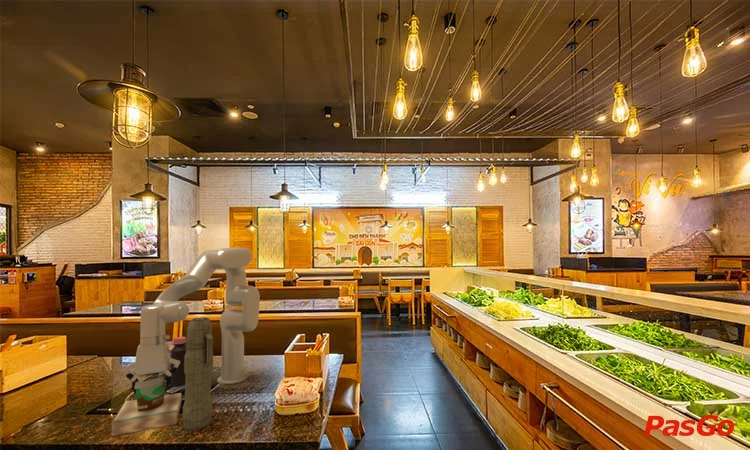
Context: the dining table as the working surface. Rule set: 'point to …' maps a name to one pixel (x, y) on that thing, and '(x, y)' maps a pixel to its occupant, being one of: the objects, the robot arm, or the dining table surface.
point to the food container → (150, 392)
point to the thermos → (198, 374)
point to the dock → (146, 416)
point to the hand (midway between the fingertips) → (152, 389)
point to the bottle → (179, 355)
